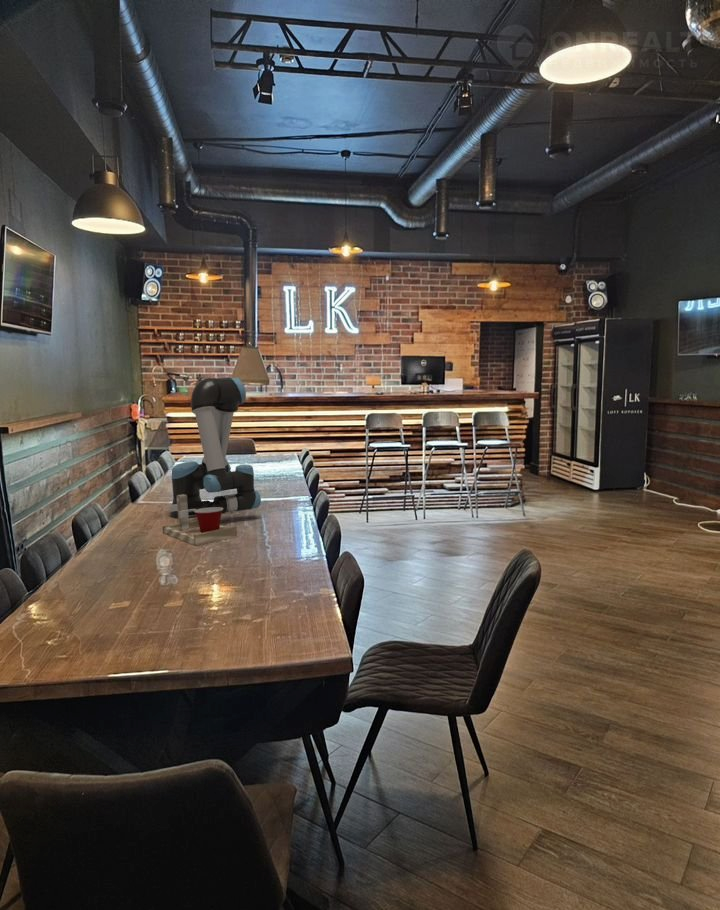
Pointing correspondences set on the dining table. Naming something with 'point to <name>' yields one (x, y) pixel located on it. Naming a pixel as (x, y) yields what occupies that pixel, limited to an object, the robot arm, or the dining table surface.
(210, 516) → the plastic cup
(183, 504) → the open rectangular frame
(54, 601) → the dining table surface
